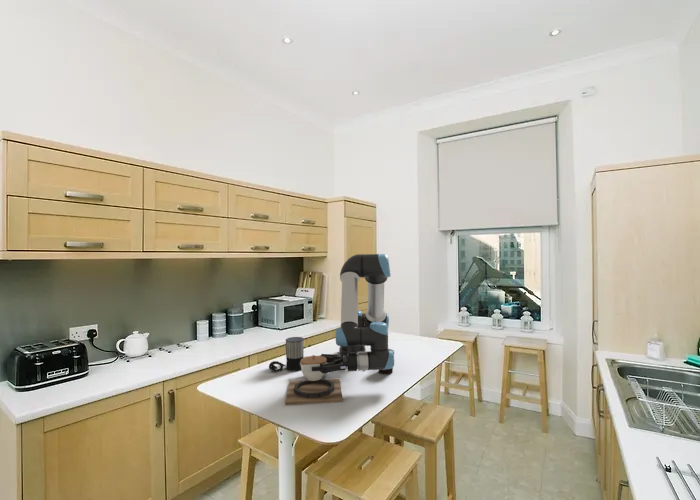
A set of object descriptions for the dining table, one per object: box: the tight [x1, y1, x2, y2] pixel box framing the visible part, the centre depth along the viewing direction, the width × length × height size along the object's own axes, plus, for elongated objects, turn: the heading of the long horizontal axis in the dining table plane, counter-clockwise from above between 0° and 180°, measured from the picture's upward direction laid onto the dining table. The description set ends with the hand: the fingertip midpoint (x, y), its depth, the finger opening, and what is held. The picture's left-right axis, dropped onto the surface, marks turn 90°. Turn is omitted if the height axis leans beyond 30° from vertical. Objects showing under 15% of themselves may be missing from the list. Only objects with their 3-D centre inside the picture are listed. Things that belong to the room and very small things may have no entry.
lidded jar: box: [300, 354, 327, 381], centre depth 142 cm, size 11×11×9 cm
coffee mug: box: [378, 348, 395, 375], centre depth 165 cm, size 12×9×10 cm
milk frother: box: [268, 336, 305, 373], centre depth 171 cm, size 14×16×15 cm
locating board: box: [284, 377, 344, 406], centre depth 142 cm, size 22×22×2 cm
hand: (303, 364), depth 142 cm, fingers closed on lidded jar, 11 cm apart
